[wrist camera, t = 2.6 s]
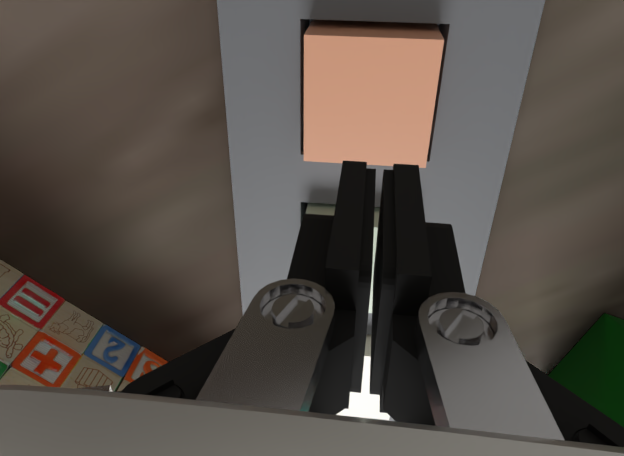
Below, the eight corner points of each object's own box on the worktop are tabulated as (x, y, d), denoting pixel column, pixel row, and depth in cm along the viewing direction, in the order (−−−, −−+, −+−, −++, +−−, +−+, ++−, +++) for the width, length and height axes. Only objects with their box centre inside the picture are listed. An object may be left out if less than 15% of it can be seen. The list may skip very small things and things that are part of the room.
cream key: (388, 379, 32) (389, 420, 29) (308, 372, 32) (302, 411, 30) (396, 319, 29) (398, 359, 27) (309, 312, 30) (303, 350, 27)
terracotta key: (420, 139, 23) (425, 168, 21) (311, 133, 24) (303, 161, 21) (436, 23, 20) (444, 39, 18) (312, 19, 21) (303, 34, 18)
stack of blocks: (247, 406, 39) (199, 589, 28) (203, 440, 42) (146, 618, 31) (-20, 245, 33) (-202, 401, 23) (-48, 299, 36) (-220, 458, 25)
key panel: (435, 383, 35) (442, 434, 31) (262, 366, 36) (251, 414, 32) (526, -50, 21) (554, -41, 17) (238, -56, 22) (212, -49, 18)
